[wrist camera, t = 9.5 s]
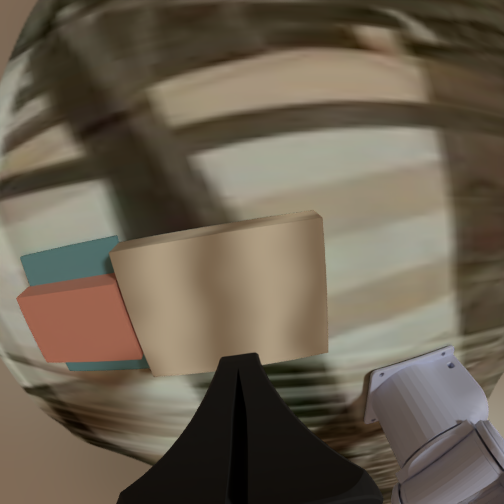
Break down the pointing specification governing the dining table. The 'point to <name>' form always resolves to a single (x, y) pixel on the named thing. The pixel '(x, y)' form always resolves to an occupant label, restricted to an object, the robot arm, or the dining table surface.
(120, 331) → the pink rubber eraser
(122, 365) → the mat
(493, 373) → the dining table surface
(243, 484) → the robot arm
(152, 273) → the block
